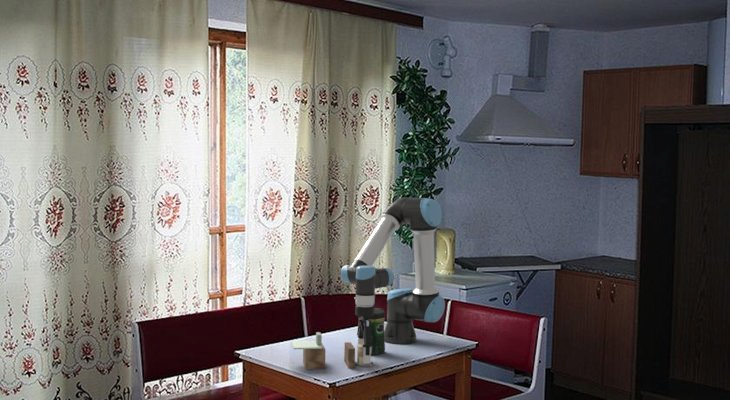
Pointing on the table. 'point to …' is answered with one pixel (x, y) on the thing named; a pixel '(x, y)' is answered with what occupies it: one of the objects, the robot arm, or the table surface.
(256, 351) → the table surface
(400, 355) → the table surface
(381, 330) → the coffee jar
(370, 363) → the grey round disc
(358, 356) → the block
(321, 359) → the brown and beige stand
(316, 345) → the cover
